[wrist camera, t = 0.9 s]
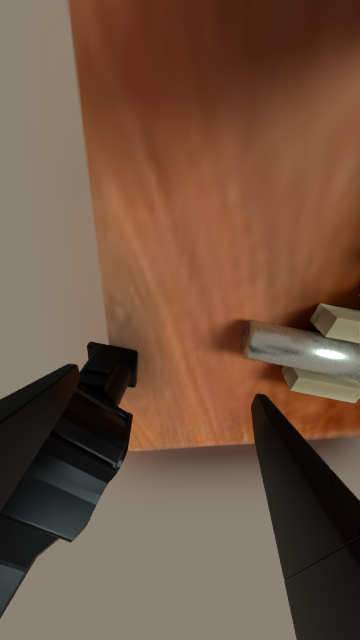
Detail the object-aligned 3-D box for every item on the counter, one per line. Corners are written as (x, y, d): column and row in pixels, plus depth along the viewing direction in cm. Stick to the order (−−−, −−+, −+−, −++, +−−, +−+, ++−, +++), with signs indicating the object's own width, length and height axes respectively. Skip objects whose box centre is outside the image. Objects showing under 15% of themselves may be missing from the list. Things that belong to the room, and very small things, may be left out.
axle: (380, 338, 20) (418, 363, 17) (358, 366, 22) (387, 394, 19) (249, 313, 21) (259, 332, 17) (238, 343, 23) (245, 366, 19)
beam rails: (338, 381, 23) (354, 403, 21) (280, 370, 24) (290, 390, 21) (391, 316, 19) (420, 333, 16) (319, 303, 19) (337, 317, 16)
